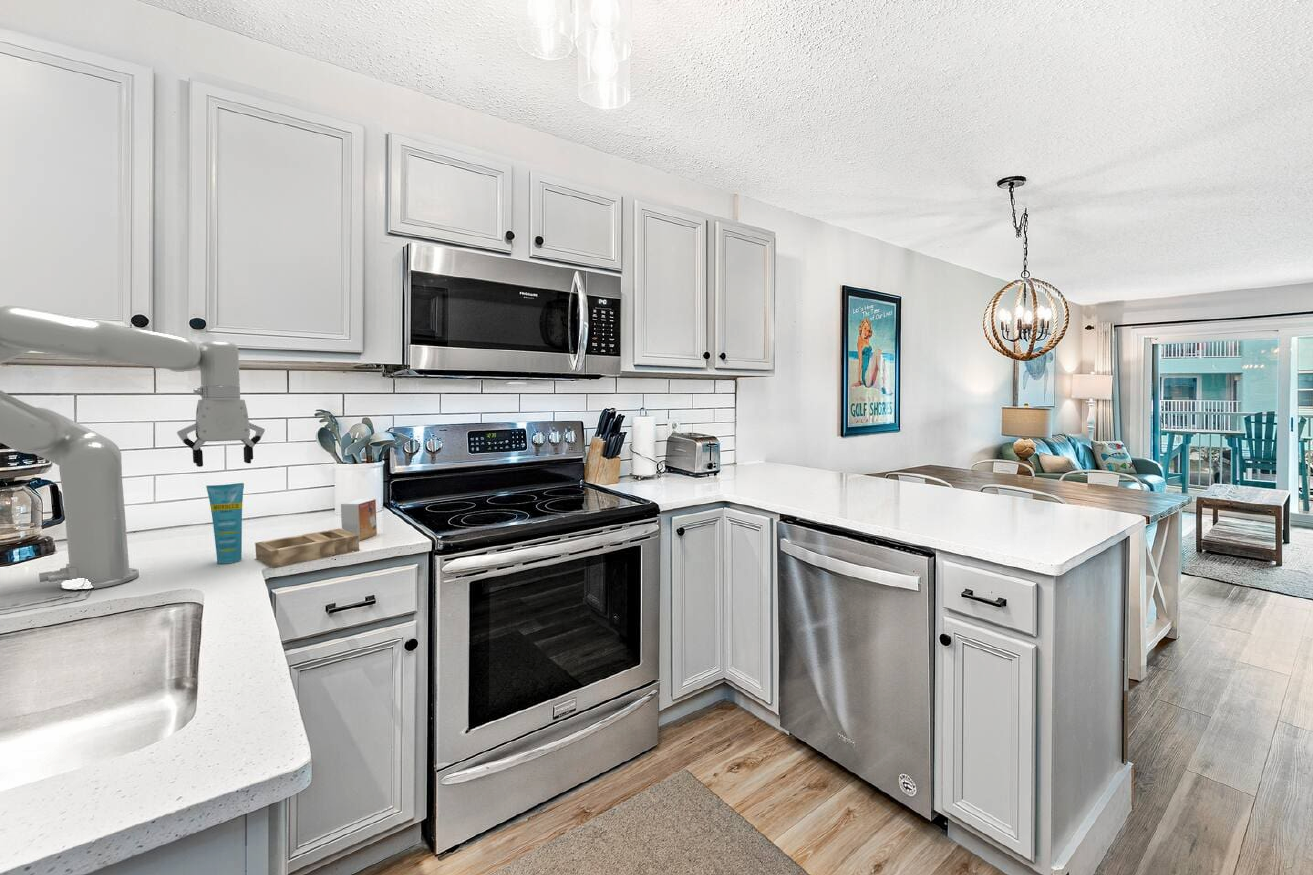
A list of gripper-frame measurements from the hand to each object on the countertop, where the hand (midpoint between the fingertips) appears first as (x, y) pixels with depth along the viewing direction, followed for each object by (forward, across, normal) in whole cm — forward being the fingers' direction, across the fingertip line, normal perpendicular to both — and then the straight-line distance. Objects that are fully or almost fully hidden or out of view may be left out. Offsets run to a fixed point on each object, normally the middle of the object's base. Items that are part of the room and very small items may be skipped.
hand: (224, 464), depth 144 cm
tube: (+24, 0, 0) cm, 24 cm away
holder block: (+24, +15, -8) cm, 29 cm away
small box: (+24, +31, 0) cm, 39 cm away
